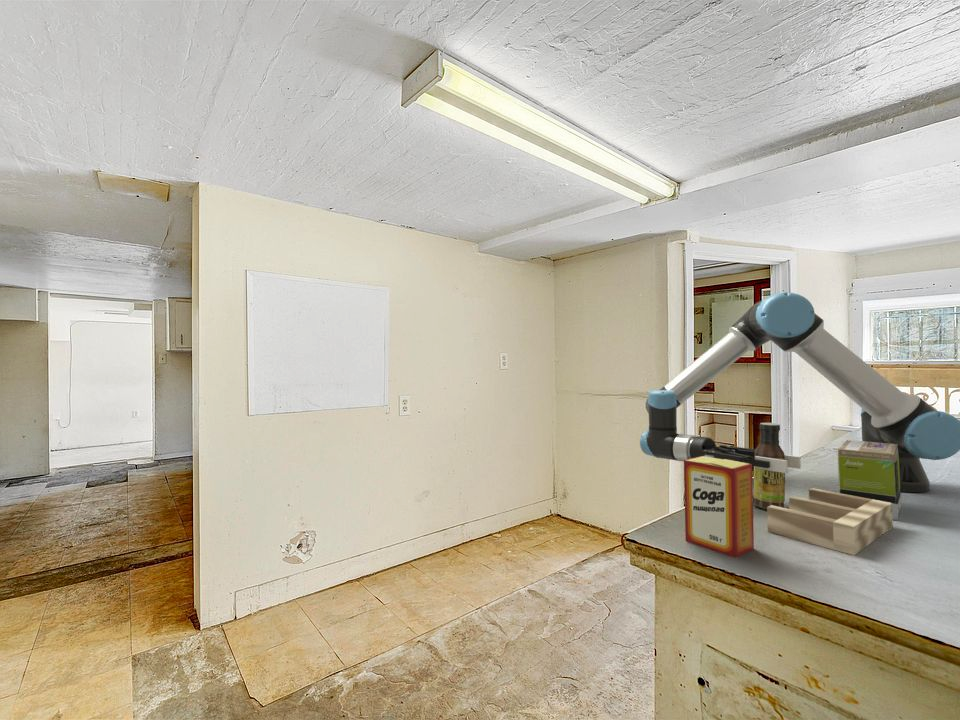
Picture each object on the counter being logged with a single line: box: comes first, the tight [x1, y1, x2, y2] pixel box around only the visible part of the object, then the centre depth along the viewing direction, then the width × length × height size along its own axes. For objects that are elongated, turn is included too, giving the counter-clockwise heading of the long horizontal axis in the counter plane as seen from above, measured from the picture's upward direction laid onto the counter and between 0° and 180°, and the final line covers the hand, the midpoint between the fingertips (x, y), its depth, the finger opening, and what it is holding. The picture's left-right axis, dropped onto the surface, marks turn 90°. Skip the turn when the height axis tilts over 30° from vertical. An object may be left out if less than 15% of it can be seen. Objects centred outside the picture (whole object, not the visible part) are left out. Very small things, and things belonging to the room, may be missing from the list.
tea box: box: [837, 440, 902, 521], centre depth 104 cm, size 15×10×15 cm
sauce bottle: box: [753, 422, 786, 510], centre depth 106 cm, size 6×6×20 cm
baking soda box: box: [683, 456, 755, 558], centre depth 85 cm, size 10×6×16 cm
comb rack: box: [766, 487, 894, 556], centre depth 91 cm, size 23×14×5 cm, turn 125°
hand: (793, 464), depth 101 cm, fingers closed on sauce bottle, 6 cm apart
